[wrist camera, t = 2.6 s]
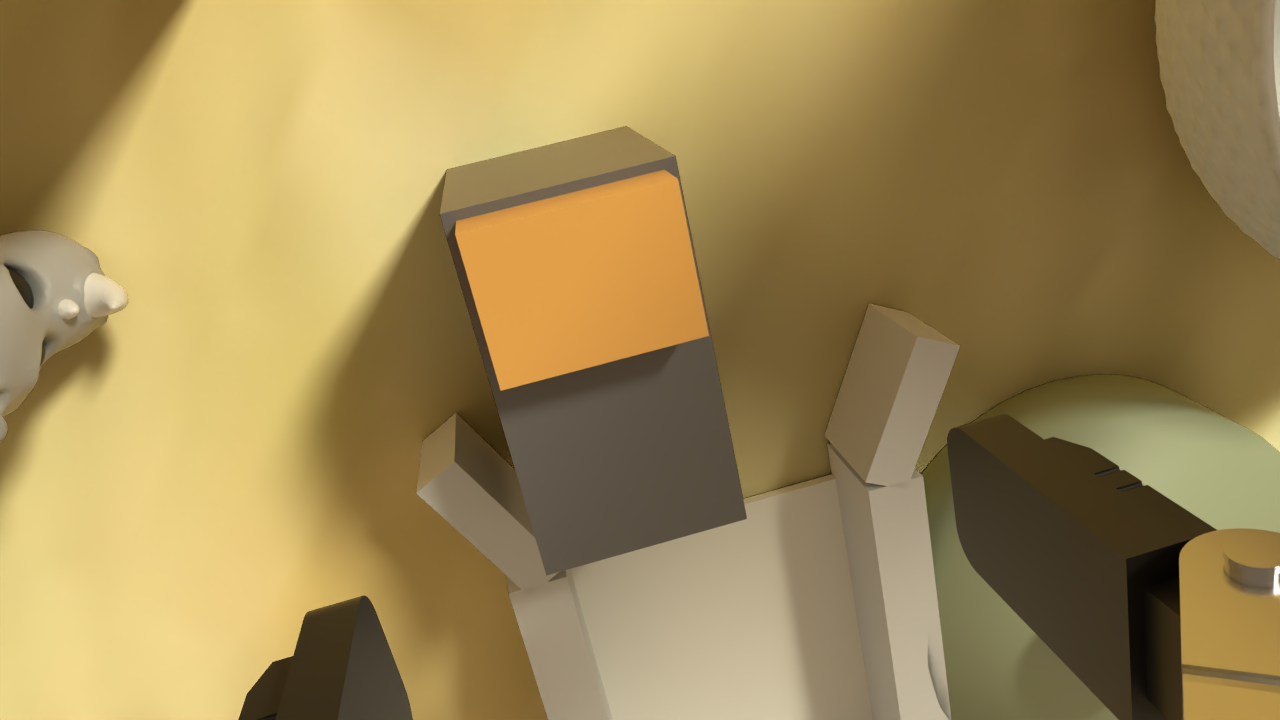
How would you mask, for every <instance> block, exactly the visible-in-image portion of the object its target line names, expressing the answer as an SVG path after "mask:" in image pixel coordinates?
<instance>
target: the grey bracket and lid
mask: <svg viewBox="0 0 1280 720" xmlns="http://www.w3.org/2000/svg"><path fill="white" fill-rule="evenodd" d="M959 348H960V345H958V344H957V343H955V342H954V341H952V340H950V339H949V338H947V337H946V336H944V335H943V334H941V333H940V332H938V331H936V330H935V329H933V328H932V327H930V326H929V325H927V324H925V323H924V322H922V321H921V320H919V319H918V318H916V317H915V316H913V315H911V314H910V313H908V312H905V311H900V310H896V309H892V308H887V307H883V306H878V305H874V304H869V305H868V308H867V311H866V314H865V317H864V320H863V323H862V326H861V329H860V331H859V334H858V337H857V340H856V343H855V346H854V349H853V352H852V355H851V358H850V361H849V364H848V367H847V370H846V373H845V376H844V379H843V382H842V385H841V388H840V391H839V394H838V396H837V399H836V402H835V405H834V408H833V411H832V414H831V417H830V420H829V423H828V426H827V429H826V432H825V435H824V436H825V437H826V438H827V439H828V440H829V441H830V442H831V443H829V444H827V446H828V453H829V459H830V466H831V472H832V474H831V475H827V476H824V477H820V478H816V479H813V480H809V481H806V482H802V483H799V484H795V485H791V486H788V487H784V488H781V489H777V490H774V491H770V492H766V493H763V494H759V495H756V496H752V497H749V498H745V499H743V500H744V505H745V510H746V515H747V519H745V520H742V521H738V522H734V523H731V524H727V525H724V526H720V527H717V528H713V529H710V530H706V531H703V532H699V533H695V534H692V535H688V536H685V537H681V538H678V539H674V540H671V541H667V542H664V543H660V544H657V545H653V546H649V547H646V548H642V549H639V550H635V551H632V552H628V553H625V554H621V555H618V556H614V557H610V558H607V559H603V560H600V561H596V562H593V563H589V564H586V565H582V566H579V567H575V568H572V569H568V570H564V571H561V572H557V573H554V574H550V575H547V576H546V572H545V569H544V566H543V562H542V559H541V555H540V552H539V549H538V545H537V542H536V539H535V535H534V532H533V528H532V525H531V522H530V518H529V515H528V511H527V508H526V505H525V501H524V498H523V495H522V491H521V488H520V484H519V481H518V478H517V474H516V471H515V470H514V469H513V468H512V467H511V466H510V465H509V464H508V463H507V462H506V461H505V460H504V459H503V458H502V457H501V456H500V455H499V454H498V453H497V452H496V451H495V450H494V449H493V448H492V447H491V446H490V445H489V444H488V443H487V442H486V441H485V440H484V439H483V438H482V437H481V436H479V435H478V434H477V433H476V432H475V431H474V430H473V429H472V428H471V427H470V426H469V425H468V424H467V423H466V422H465V421H464V420H463V419H462V418H461V417H460V416H459V415H458V414H457V413H455V414H454V415H453V416H452V417H450V418H449V419H448V420H447V421H446V422H445V423H443V424H442V425H441V426H440V427H439V428H437V429H436V430H435V431H434V432H433V433H432V434H430V435H429V436H428V437H427V438H426V439H425V440H423V441H422V448H421V456H420V464H419V473H418V481H417V490H416V494H417V495H418V496H419V497H421V498H422V499H423V500H424V501H425V502H426V503H427V504H428V505H429V506H430V507H432V508H433V509H434V510H435V511H436V512H437V513H438V514H439V515H440V516H441V517H443V518H444V519H445V520H446V521H447V522H448V523H449V524H450V525H451V526H452V527H454V528H455V529H456V530H457V531H458V532H459V533H460V534H461V535H462V536H463V537H464V538H466V539H467V540H468V541H469V542H470V543H471V544H472V545H473V546H474V547H475V548H477V549H478V550H479V551H480V552H481V553H482V554H483V555H484V556H485V557H486V558H488V559H489V560H490V561H491V562H492V563H493V564H494V565H495V566H496V567H497V568H499V569H500V570H501V571H502V572H503V573H504V574H505V575H506V576H507V581H508V594H509V597H510V600H511V603H512V607H513V610H514V613H515V616H516V619H517V622H518V626H519V629H520V632H521V635H522V638H523V641H524V645H525V648H526V651H527V654H528V657H529V661H530V664H531V667H532V670H533V673H534V676H535V680H536V683H537V686H538V689H539V692H540V695H541V699H542V702H543V705H544V708H545V711H546V714H547V718H548V720H1118V719H1117V718H1116V716H1115V715H1114V714H1113V713H1112V712H1111V711H1110V710H1109V709H1108V708H1107V707H1106V706H1105V705H1104V704H1103V703H1102V702H1101V701H1100V700H1099V699H1098V698H1097V697H1096V696H1095V695H1094V694H1093V693H1092V692H1091V691H1090V690H1089V688H1088V687H1087V686H1086V685H1085V684H1084V683H1083V682H1082V681H1081V680H1080V679H1079V678H1078V677H1077V676H1076V675H1075V674H1074V673H1073V672H1072V671H1071V670H1070V669H1069V668H1068V667H1067V666H1066V665H1065V664H1064V663H1063V661H1062V660H1061V659H1060V658H1059V657H1058V656H1057V655H1056V654H1055V653H1054V652H1053V651H1052V650H1051V649H1050V648H1049V647H1048V646H1047V645H1046V644H1045V643H1044V642H1043V641H1042V640H1041V639H1040V638H1039V637H1038V636H1037V635H1036V633H1035V632H1034V631H1033V630H1032V629H1031V628H1030V627H1029V626H1028V625H1027V624H1026V623H1025V622H1024V621H1023V620H1022V619H1021V618H1020V617H1019V616H1018V615H1017V614H1016V613H1015V612H1014V611H1013V610H1012V609H1011V608H1010V606H1009V605H1008V604H1007V603H1006V602H1005V601H1004V600H1003V599H1002V598H1001V597H1000V596H999V595H998V594H997V593H996V592H995V591H994V590H993V589H992V588H991V587H990V586H989V585H988V584H987V583H986V582H985V581H984V580H983V578H982V577H981V576H980V575H979V574H978V573H977V572H976V571H975V570H974V568H973V567H972V566H971V564H970V562H969V561H968V559H967V557H966V555H965V553H964V551H963V548H962V546H961V543H960V540H959V537H958V533H957V527H956V520H955V511H954V502H953V493H952V484H951V475H950V466H949V458H948V448H947V445H946V446H945V447H944V448H943V449H942V450H941V451H940V452H939V453H938V455H937V456H936V457H935V458H934V459H933V461H932V462H931V463H930V464H929V465H928V467H927V468H926V469H925V470H924V471H923V473H922V474H920V473H919V472H918V471H917V470H916V469H915V467H916V464H917V461H918V459H919V456H920V453H921V451H922V448H923V445H924V442H925V440H926V437H927V434H928V432H929V429H930V426H931V424H932V421H933V418H934V416H935V413H936V410H937V408H938V405H939V402H940V399H941V397H942V394H943V391H944V389H945V386H946V383H947V381H948V378H949V375H950V373H951V370H952V367H953V365H954V362H955V359H956V357H957V354H958V351H959ZM1000 414H1006V415H1009V416H1011V417H1012V418H1014V419H1015V420H1017V421H1018V422H1020V423H1021V424H1022V425H1024V426H1025V427H1027V428H1028V429H1030V430H1031V431H1033V432H1034V433H1036V434H1037V435H1038V436H1040V437H1041V438H1043V439H1047V438H1051V437H1056V438H1059V439H1062V440H1066V441H1069V442H1072V443H1076V444H1079V445H1082V446H1086V447H1089V448H1092V449H1093V450H1095V451H1096V452H1098V453H1099V454H1101V455H1103V456H1104V457H1106V458H1107V459H1109V460H1110V461H1112V462H1113V463H1115V464H1116V465H1118V466H1119V469H1120V470H1126V471H1127V472H1129V473H1130V474H1132V475H1133V476H1135V477H1136V478H1138V479H1139V480H1141V481H1142V484H1143V485H1144V486H1145V485H1149V486H1150V487H1152V488H1153V489H1155V490H1156V491H1158V492H1160V493H1161V494H1163V495H1164V496H1166V497H1167V498H1169V499H1170V500H1172V501H1173V502H1175V503H1176V504H1178V505H1180V506H1181V507H1183V508H1184V509H1186V510H1187V511H1189V512H1190V513H1192V514H1193V515H1195V516H1196V517H1198V518H1200V519H1201V520H1203V521H1204V522H1206V523H1207V524H1209V525H1210V526H1212V527H1213V528H1215V529H1217V530H1223V529H1235V528H1246V529H1260V530H1267V531H1273V532H1278V533H1280V452H1279V451H1278V450H1277V449H1275V448H1274V447H1273V446H1272V445H1271V444H1270V443H1268V442H1267V441H1266V440H1265V439H1264V438H1262V437H1261V436H1259V435H1257V434H1256V433H1254V432H1252V431H1250V430H1249V429H1247V428H1245V427H1244V426H1242V425H1240V424H1238V423H1236V422H1234V421H1232V420H1230V419H1228V418H1226V417H1224V416H1222V415H1220V414H1218V413H1216V412H1214V411H1212V410H1210V409H1208V408H1206V407H1204V406H1202V405H1200V404H1198V403H1196V402H1194V401H1193V400H1191V399H1189V398H1187V397H1185V396H1183V395H1181V394H1179V393H1177V392H1175V391H1173V390H1171V389H1169V388H1167V387H1164V386H1162V385H1159V384H1156V383H1154V382H1151V381H1148V380H1145V379H1140V378H1135V377H1130V376H1125V375H1107V374H1098V375H1086V376H1076V377H1071V378H1067V379H1062V380H1057V381H1053V382H1050V383H1047V384H1044V385H1041V386H1038V387H1035V388H1032V389H1029V390H1027V391H1025V392H1023V393H1021V394H1018V395H1016V396H1014V397H1012V398H1010V399H1008V400H1006V401H1004V402H1002V403H1001V404H999V405H997V406H996V407H994V408H993V409H991V410H989V411H988V412H986V413H984V414H983V415H981V416H980V417H979V418H977V419H976V420H975V421H974V422H976V421H980V420H983V419H987V418H990V417H994V416H997V415H1000ZM972 423H973V422H972Z"/></svg>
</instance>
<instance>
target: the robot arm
mask: <svg viewBox="0 0 1280 720" xmlns="http://www.w3.org/2000/svg"><path fill="white" fill-rule="evenodd" d="M947 448H948V458H949V466H950V475H951V484H952V493H953V502H954V511H955V520H956V527H957V533H958V537H959V540H960V543H961V546H962V548H963V551H964V553H965V555H966V557H967V559H968V561H969V562H970V564H971V566H972V567H973V568H974V570H975V571H976V572H977V573H978V574H979V575H980V576H981V577H982V578H983V580H984V581H985V582H986V583H987V584H988V585H989V586H990V587H991V588H992V589H993V590H994V591H995V592H996V593H997V594H998V595H999V596H1000V597H1001V598H1002V599H1003V600H1004V601H1005V602H1006V603H1007V604H1008V605H1009V606H1010V608H1011V609H1012V610H1013V611H1014V612H1015V613H1016V614H1017V615H1018V616H1019V617H1020V618H1021V619H1022V620H1023V621H1024V622H1025V623H1026V624H1027V625H1028V626H1029V627H1030V628H1031V629H1032V630H1033V631H1034V632H1035V633H1036V635H1037V636H1038V637H1039V638H1040V639H1041V640H1042V641H1043V642H1044V643H1045V644H1046V645H1047V646H1048V647H1049V648H1050V649H1051V650H1052V651H1053V652H1054V653H1055V654H1056V655H1057V656H1058V657H1059V658H1060V659H1061V660H1062V661H1063V663H1064V664H1065V665H1066V666H1067V667H1068V668H1069V669H1070V670H1071V671H1072V672H1073V673H1074V674H1075V675H1076V676H1077V677H1078V678H1079V679H1080V680H1081V681H1082V682H1083V683H1084V684H1085V685H1086V686H1087V687H1088V688H1089V690H1090V691H1091V692H1092V693H1093V694H1094V695H1095V696H1096V697H1097V698H1098V699H1099V700H1100V701H1101V702H1102V703H1103V704H1104V705H1105V706H1106V707H1107V708H1108V709H1109V710H1110V711H1111V712H1112V713H1113V714H1114V715H1115V716H1116V718H1117V719H1118V720H1280V533H1278V532H1273V531H1267V530H1260V529H1246V528H1235V529H1223V530H1217V529H1215V528H1213V527H1212V526H1210V525H1209V524H1207V523H1206V522H1204V521H1203V520H1201V519H1200V518H1198V517H1196V516H1195V515H1193V514H1192V513H1190V512H1189V511H1187V510H1186V509H1184V508H1183V507H1181V506H1180V505H1178V504H1176V503H1175V502H1173V501H1172V500H1170V499H1169V498H1167V497H1166V496H1164V495H1163V494H1161V493H1160V492H1158V491H1156V490H1155V489H1153V488H1152V487H1150V486H1149V485H1145V486H1144V485H1143V484H1142V481H1141V480H1139V479H1138V478H1136V477H1135V476H1133V475H1132V474H1130V473H1129V472H1127V471H1126V470H1120V469H1119V466H1118V465H1116V464H1115V463H1113V462H1112V461H1110V460H1109V459H1107V458H1106V457H1104V456H1103V455H1101V454H1099V453H1098V452H1096V451H1095V450H1093V449H1092V448H1089V447H1086V446H1082V445H1079V444H1076V443H1072V442H1069V441H1066V440H1062V439H1059V438H1056V437H1051V438H1047V439H1043V438H1041V437H1040V436H1038V435H1037V434H1036V433H1034V432H1033V431H1031V430H1030V429H1028V428H1027V427H1025V426H1024V425H1022V424H1021V423H1020V422H1018V421H1017V420H1015V419H1014V418H1012V417H1011V416H1009V415H1006V414H1000V415H997V416H994V417H990V418H987V419H983V420H980V421H976V422H973V423H969V424H966V425H962V426H959V427H955V428H953V429H951V430H950V431H949V434H948V438H947ZM239 720H413V719H412V713H411V708H410V704H409V700H408V696H407V693H406V690H405V687H404V684H403V682H402V679H401V676H400V674H399V671H398V669H397V666H396V663H395V661H394V658H393V655H392V653H391V650H390V648H389V645H388V642H387V640H386V637H385V635H384V632H383V629H382V627H381V624H380V621H379V619H378V616H377V614H376V611H375V609H374V607H373V605H372V603H371V601H370V600H369V599H368V597H366V596H361V597H357V598H354V599H350V600H347V601H343V602H340V603H336V604H333V605H329V606H326V607H322V608H319V609H315V610H312V611H309V612H307V613H306V615H305V617H304V620H303V624H302V627H301V631H300V634H299V638H298V642H297V645H296V649H295V652H294V656H292V657H289V658H285V659H282V660H278V661H275V662H272V664H271V665H270V666H269V667H268V669H267V670H266V671H265V672H264V674H263V675H262V676H261V677H260V679H259V680H258V681H257V682H256V684H255V685H254V686H253V687H252V688H251V690H250V691H249V692H248V693H247V696H246V699H245V702H244V705H243V708H242V711H241V714H240V717H239Z"/></svg>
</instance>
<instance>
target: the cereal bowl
mask: <svg viewBox="0 0 1280 720" xmlns="http://www.w3.org/2000/svg"><path fill="white" fill-rule="evenodd" d="M1155 8H1156V11H1155V18H1154V20H1155V23H1156V27H1157V32H1156V44H1157V47H1158V48H1157V56H1158V60H1159V64H1160V80H1161V82H1162V87H1163V89H1164V91H1165V97H1166V109H1167V111H1168V112H1169V114H1170V116H1171V118H1172V119H1173V124H1174V130H1175V132H1176V133H1177V135H1178V136H1179V139H1180V144H1181V146H1182V147H1183V149H1184V150H1185V152H1186V156H1187V158H1188V159H1189V160H1190V165H1191V168H1192V169H1193V170H1194V171H1195V172H1196V174H1197V175H1198V176H1199V177H1200V179H1201V181H1202V183H1203V185H1204V187H1205V188H1206V189H1207V191H1208V192H1209V195H1210V196H1211V197H1212V198H1213V199H1214V200H1215V201H1216V202H1217V203H1218V204H1219V206H1220V207H1221V209H1222V210H1223V212H1224V214H1225V215H1226V216H1227V217H1229V218H1230V219H1231V220H1232V221H1233V222H1234V223H1236V224H1237V226H1238V227H1239V228H1240V230H1241V231H1242V232H1243V233H1244V234H1246V235H1248V236H1249V237H1251V238H1252V239H1254V240H1255V241H1256V242H1258V243H1259V244H1260V245H1261V246H1262V247H1263V248H1264V249H1265V250H1266V251H1267V252H1268V253H1269V254H1271V255H1272V256H1274V257H1276V258H1278V259H1280V0H1156V1H1155Z"/></svg>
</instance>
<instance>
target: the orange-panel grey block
mask: <svg viewBox="0 0 1280 720" xmlns="http://www.w3.org/2000/svg"><path fill="white" fill-rule="evenodd" d="M440 217H441V220H442V224H443V227H444V230H445V234H446V237H447V241H448V244H449V247H450V251H451V254H452V258H453V261H454V264H455V268H456V271H457V274H458V278H459V281H460V285H461V288H462V291H463V295H464V298H465V302H466V305H467V308H468V312H469V315H470V318H471V322H472V325H473V329H474V332H475V335H476V339H477V342H478V346H479V349H480V352H481V356H482V359H483V362H484V366H485V369H486V373H487V376H488V379H489V383H490V386H491V390H492V393H493V396H494V400H495V403H496V407H497V410H498V413H499V417H500V420H501V423H502V427H503V430H504V434H505V437H506V440H507V444H508V447H509V451H510V454H511V457H512V461H513V464H514V467H515V471H516V474H517V478H518V481H519V484H520V488H521V491H522V495H523V498H524V501H525V505H526V508H527V511H528V515H529V518H530V522H531V525H532V528H533V532H534V535H535V539H536V542H537V545H538V549H539V552H540V555H541V559H542V562H543V566H544V569H545V572H546V576H547V575H550V574H554V573H557V572H561V571H564V570H568V569H572V568H575V567H579V566H582V565H586V564H589V563H593V562H596V561H600V560H603V559H607V558H610V557H614V556H618V555H621V554H625V553H628V552H632V551H635V550H639V549H642V548H646V547H649V546H653V545H657V544H660V543H664V542H667V541H671V540H674V539H678V538H681V537H685V536H688V535H692V534H695V533H699V532H703V531H706V530H710V529H713V528H717V527H720V526H724V525H727V524H731V523H734V522H738V521H742V520H745V519H747V515H746V510H745V505H744V500H743V495H742V490H741V485H740V480H739V475H738V470H737V465H736V460H735V455H734V449H733V444H732V439H731V434H730V429H729V424H728V419H727V414H726V409H725V404H724V399H723V394H722V389H721V384H720V379H719V374H718V368H717V363H716V358H715V353H714V348H713V343H712V338H711V333H710V328H709V323H708V318H707V313H706V308H705V303H704V298H703V293H702V287H701V282H700V277H699V272H698V267H697V262H696V257H695V252H694V247H693V242H692V237H691V232H690V227H689V222H688V217H687V211H686V206H685V201H684V196H683V191H682V186H681V181H680V176H679V171H678V166H677V161H676V156H675V155H673V154H671V153H670V152H668V151H667V150H665V149H663V148H662V147H660V146H658V145H657V144H655V143H653V142H652V141H650V140H648V139H647V138H645V137H643V136H642V135H640V134H638V133H637V132H635V131H634V130H632V129H630V128H629V127H627V126H625V127H621V128H616V129H612V130H608V131H604V132H600V133H596V134H592V135H587V136H583V137H579V138H575V139H571V140H567V141H563V142H558V143H554V144H550V145H546V146H542V147H538V148H534V149H529V150H525V151H521V152H517V153H513V154H509V155H505V156H501V157H496V158H492V159H488V160H484V161H480V162H476V163H472V164H467V165H463V166H459V167H455V168H451V169H447V172H446V178H445V184H444V190H443V196H442V203H441V209H440Z"/></svg>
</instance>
